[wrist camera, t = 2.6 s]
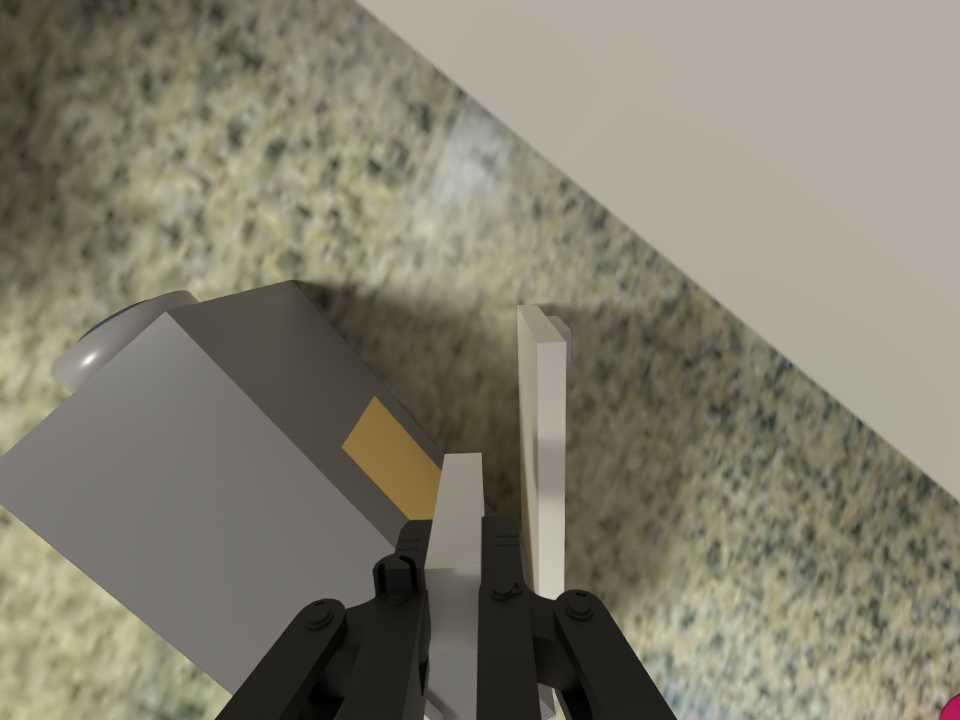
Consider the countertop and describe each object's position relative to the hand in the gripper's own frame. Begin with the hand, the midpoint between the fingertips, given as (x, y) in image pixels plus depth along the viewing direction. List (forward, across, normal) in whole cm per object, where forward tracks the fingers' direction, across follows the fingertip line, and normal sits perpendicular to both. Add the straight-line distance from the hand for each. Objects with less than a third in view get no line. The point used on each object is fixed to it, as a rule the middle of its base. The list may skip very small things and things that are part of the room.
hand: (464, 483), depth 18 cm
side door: (+12, +4, -3) cm, 13 cm away
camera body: (+12, -9, -5) cm, 16 cm away
